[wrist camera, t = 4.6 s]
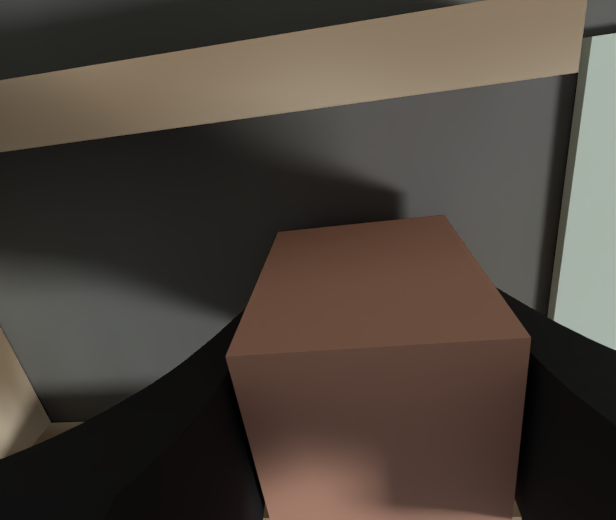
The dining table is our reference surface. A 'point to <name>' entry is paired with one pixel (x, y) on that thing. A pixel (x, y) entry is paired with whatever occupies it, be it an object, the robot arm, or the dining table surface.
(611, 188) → the mat
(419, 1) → the dining table surface
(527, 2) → the crate
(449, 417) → the block
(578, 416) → the robot arm
